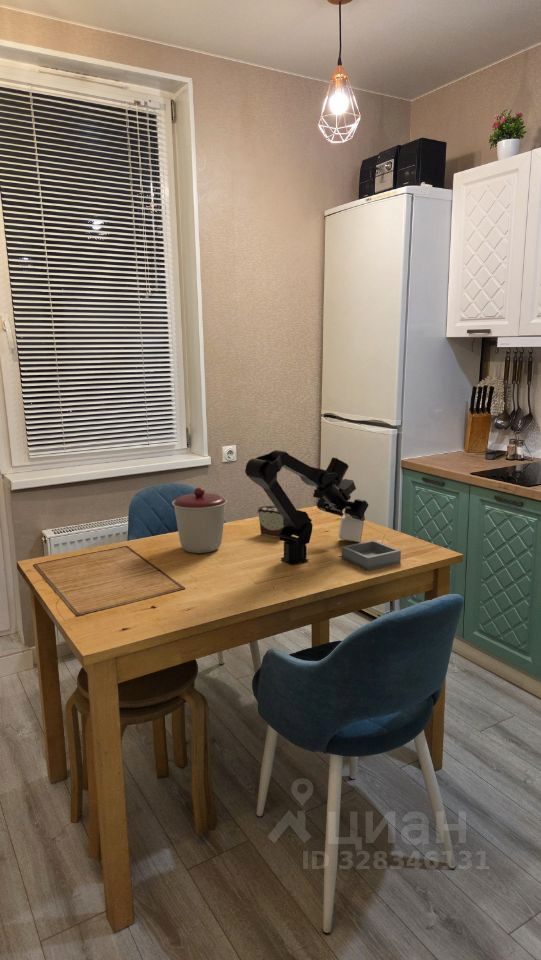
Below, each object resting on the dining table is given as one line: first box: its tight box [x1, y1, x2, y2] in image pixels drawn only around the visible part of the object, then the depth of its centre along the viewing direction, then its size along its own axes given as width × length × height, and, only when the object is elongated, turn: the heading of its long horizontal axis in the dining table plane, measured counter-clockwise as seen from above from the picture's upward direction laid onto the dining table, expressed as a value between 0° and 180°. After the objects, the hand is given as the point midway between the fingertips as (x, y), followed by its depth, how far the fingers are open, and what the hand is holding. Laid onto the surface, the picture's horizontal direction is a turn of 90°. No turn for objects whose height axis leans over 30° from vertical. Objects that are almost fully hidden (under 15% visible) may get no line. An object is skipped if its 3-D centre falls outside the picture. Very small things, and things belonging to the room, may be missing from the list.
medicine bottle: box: [337, 508, 365, 543], centre depth 213 cm, size 7×7×12 cm
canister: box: [171, 487, 228, 554], centre depth 206 cm, size 18×18×21 cm
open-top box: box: [341, 540, 402, 571], centre depth 194 cm, size 13×13×4 cm
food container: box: [256, 504, 284, 538], centre depth 223 cm, size 12×6×10 cm, turn 58°
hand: (353, 517), depth 213 cm, fingers closed on medicine bottle, 9 cm apart
